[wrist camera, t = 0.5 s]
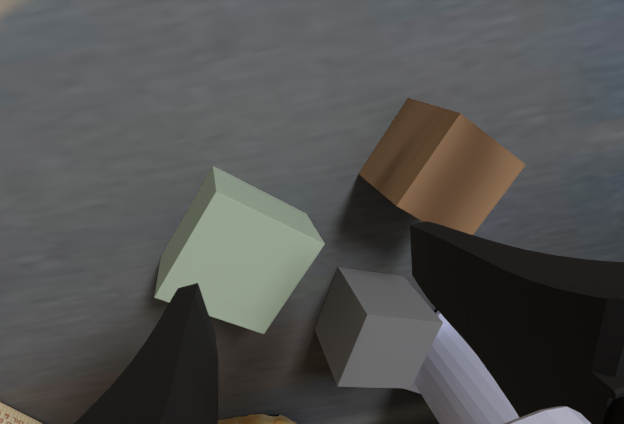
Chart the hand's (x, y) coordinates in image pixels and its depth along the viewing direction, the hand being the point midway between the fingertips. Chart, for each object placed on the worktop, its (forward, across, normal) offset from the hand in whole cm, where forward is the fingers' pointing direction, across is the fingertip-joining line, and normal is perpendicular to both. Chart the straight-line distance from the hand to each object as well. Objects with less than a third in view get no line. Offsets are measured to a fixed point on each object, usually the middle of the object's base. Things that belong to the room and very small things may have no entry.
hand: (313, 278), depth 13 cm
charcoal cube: (+10, -4, +10) cm, 15 cm away
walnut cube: (+10, -9, +1) cm, 13 cm away
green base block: (+10, +2, +3) cm, 11 cm away
